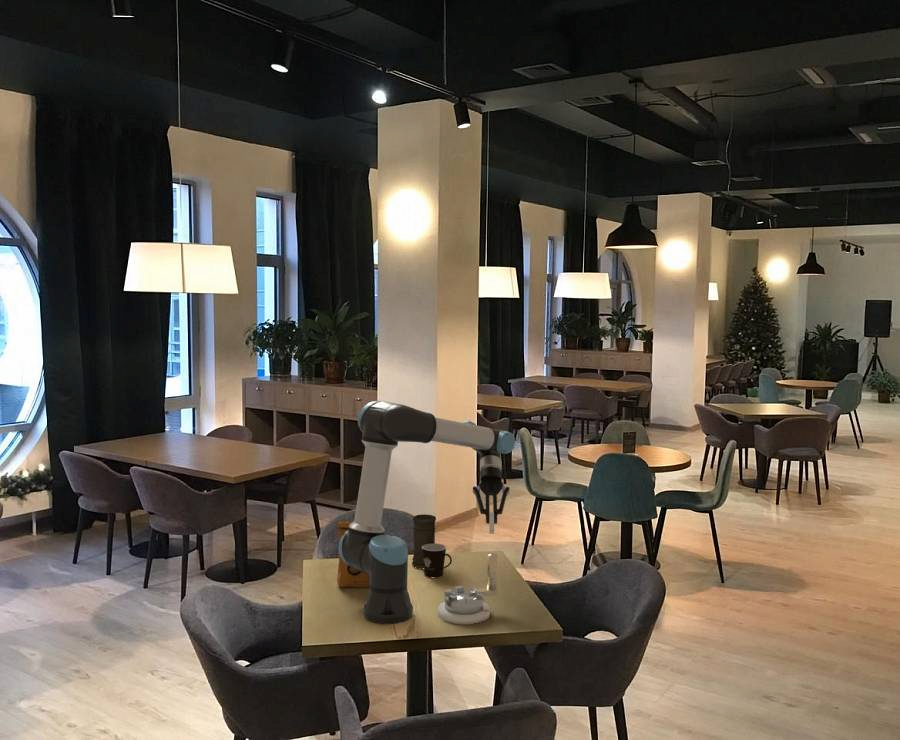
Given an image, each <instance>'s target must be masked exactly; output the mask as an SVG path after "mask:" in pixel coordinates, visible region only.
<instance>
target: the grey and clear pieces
mask: <svg viewBox="0 0 900 740" xmlns="http://www.w3.org/2000/svg"><path fill="white" fill-rule="evenodd" d="M486 561H487V563H486V564H487V565H486V566H487V568H486V569H487V571H486V572H487V573H486V575H487V577H486V587H476V586H473V587H470V589H465V587H464V586H463V585H458V586H454V587H455V589H454V590H452V589H446V590H445V591H444V602H445V609H446V610H447V611H448V612H451V613H454V614H460V615H470V614H475V613H479V612H481V611H482V610H483V605H484V603H485V602H484V600H485V599H484V597H490V596H499V590H498V584H497V583H498V554H497V553H496V552H489V553H487V560H486Z"/></svg>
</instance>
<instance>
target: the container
mask: <svg viewBox="0 0 900 740" xmlns="http://www.w3.org/2000/svg"><path fill="white" fill-rule="evenodd" d="M412 521H413V551H412V552H413V554H412V555H413V557H412V562H411V566H412V567H413V566H414V567H413V568H415V567H416V568H415V569H418V568H424V564H423V554H422V546H423V545H426V544H436V527H435V526H436V525H435V524H436V521H437V518H436V515H432V514H416V515H414V516H413V517H412Z"/></svg>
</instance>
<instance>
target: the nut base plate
mask: <svg viewBox="0 0 900 740" xmlns="http://www.w3.org/2000/svg"><path fill="white" fill-rule="evenodd" d="M437 615H438V616H437V617H438V618H440V619H441V620H442V621H445V622H447V623H450V624H455V625H474V623H476V624H478V623H477V622H480V623H482V622H481V621H483V622H485V621H487V620H488V619H489V618H490V617H489V616H491V607H490V605H488V603H486V602H484V605H483V610H482V611H481V612H479V613H475V614H470V615H460V614H454V613H451V612H448V611H447V610H446V609H445V601H443V602H441V603H440V604H438V607H437ZM488 617H489V618H488ZM487 618H488V619H487ZM486 619H487V620H486ZM484 620H485V621H484Z"/></svg>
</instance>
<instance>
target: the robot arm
mask: <svg viewBox="0 0 900 740" xmlns="http://www.w3.org/2000/svg"><path fill="white" fill-rule="evenodd" d="M357 425H358V428H359V430H360V431H361V433H362V437H361V442H362V444H363V445H364V447H365V448H364V455H363V460H362V468H361V475H360V479H359V480H360V481H359V487H358V495H357V500H356V501H357V502H356V507H355V514H354V520H353V521H351V522H352V523H351V524H350V525H349V528H348V531H347V532H346V533H345V535H344V536H342V538H341V540H340V543H338V552H339V553H340V556H341V558H342V560H343V561H344V562H345V563H346V564H347V565H349V566H350V567H351V568H354V569H357V570H359V571H361V572H363V573H366V574H368V575H369V584H370V585H369V587H368V588H369V590H368V593H367V596H366V601H365V604H364V606H363V617H364V619H366V620H368V621H370V622H372V623H373V622H374V623H378V624H397V623H401V622H405V621H407V620H409V619H411V618H412V617H413V616H414V615H413V614H414V606H413V604H412V601H411V597H410V594H409V591H408V574H409V573H408V569H409V568H408V567H409V566H408V565H409V564H408V563H409V551H408V544H407V542H405V540H404V539H402V538H400V537H399V536H397V535H390V534H385V532H386V530H385V528H384V526H383V525H382V520H383V514H384V506H385V500H386V499H385V498H386V493H387V486H388V481H389V473H390V465H391V461H392V460H391V459H392V452H393V450H394V449H395V448H397V447H398V445H399V443H400V442H401V443H405V442H406V443H408V442H409V443H421V444H429V443H430V442H434V443H442V444H446V445H454V446H459V447H464V448H471V449H472V450H474V451H475V452H477V454H479V471H480V472H479V483H478V485H476V486H473V487H472V493H473V494H474V496H475V499H476V502H477V506H478V510H479V513H480V514H481V515H485V523H486V524H487V525H488V529H489V535H490V534H491V535H492V534H495V525H497V523H498V515H502V514H503V511H504V508H505V507H504V506H505V503H506V499H507V496H508V495H509V494H510V487H509V486H505V485H504V483H503V481H502V480H503V479H502V476H503V475H502V456H501V455H502V454H505V455H506V454H507V455H508V454H509V453H512V451H513V450H514V448H515V445H516V444H515V443H516V438H515V436H514V434H513V433H512V432H510V431H507V430H502V429H496V428H491V427H486V426H482V425H481V426H480V425H477V424H476V422H473V421H471V420H470V419H469V420H464V421H462V422H460V421H456V420H449V419H445V418H439V417H436V416H435V415H434V414H433V413H431V412H425V411H422V410H420V409H416V408H414V407H411V406H409V405H405V404H401V403H395V402H394V403H393V402H390V401H385V400H374V401H373V400H372V401H371V402H367V404H365V405H364V406H363V407H362V408H361V410H360V411H359V414H358V417H357ZM480 491H481V492H482V493H483V495H485V506H484V504H483V500H482V496H481V493H480ZM501 491H502V496H501V499H500V504H499V508H498V495H499V494H500V493H501ZM490 496H492V511H493V512H491V511H490ZM484 507H485V508H484Z"/></svg>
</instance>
